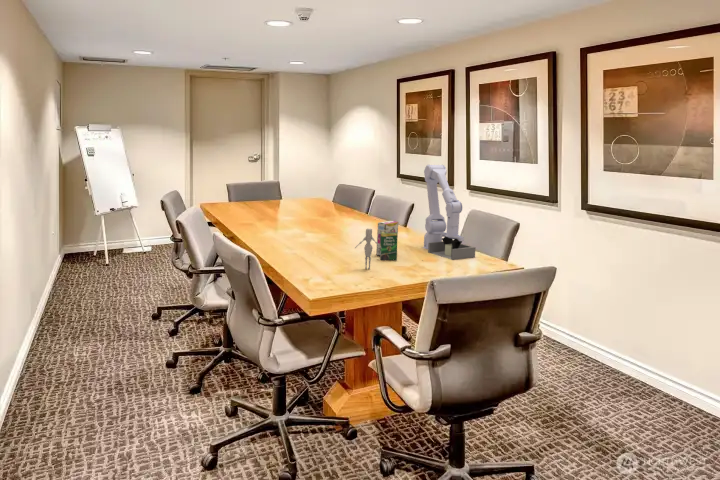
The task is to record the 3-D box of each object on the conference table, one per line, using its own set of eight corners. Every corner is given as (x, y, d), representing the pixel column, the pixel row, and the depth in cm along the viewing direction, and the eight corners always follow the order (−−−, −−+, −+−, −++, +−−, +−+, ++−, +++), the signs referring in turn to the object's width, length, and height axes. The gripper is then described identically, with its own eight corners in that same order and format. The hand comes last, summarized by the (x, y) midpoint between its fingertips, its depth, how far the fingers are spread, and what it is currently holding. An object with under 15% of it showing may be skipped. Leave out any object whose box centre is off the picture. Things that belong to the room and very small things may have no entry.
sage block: (444, 254, 278) (445, 244, 277) (451, 253, 281) (452, 243, 280) (450, 256, 274) (451, 246, 274) (457, 255, 277) (458, 245, 276)
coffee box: (379, 260, 263) (380, 232, 261) (379, 259, 266) (380, 231, 264) (396, 260, 263) (398, 233, 261) (396, 259, 266) (397, 232, 264)
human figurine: (380, 268, 247) (382, 228, 244) (381, 270, 244) (383, 229, 240) (353, 268, 246) (354, 227, 243) (354, 270, 242) (355, 229, 239)
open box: (428, 253, 282) (428, 242, 281) (449, 251, 289) (450, 240, 288) (452, 261, 266) (453, 249, 265) (474, 258, 273) (475, 247, 272)
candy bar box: (384, 257, 270) (385, 223, 267) (375, 255, 273) (377, 222, 270) (397, 253, 279) (398, 221, 276) (389, 252, 282) (390, 220, 279)
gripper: (437, 224, 279) (435, 250, 281) (456, 228, 267) (454, 256, 269) (448, 223, 283) (446, 249, 285) (467, 227, 270) (465, 255, 273)
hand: (451, 253), depth 277 cm, fingers closed on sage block, 4 cm apart
